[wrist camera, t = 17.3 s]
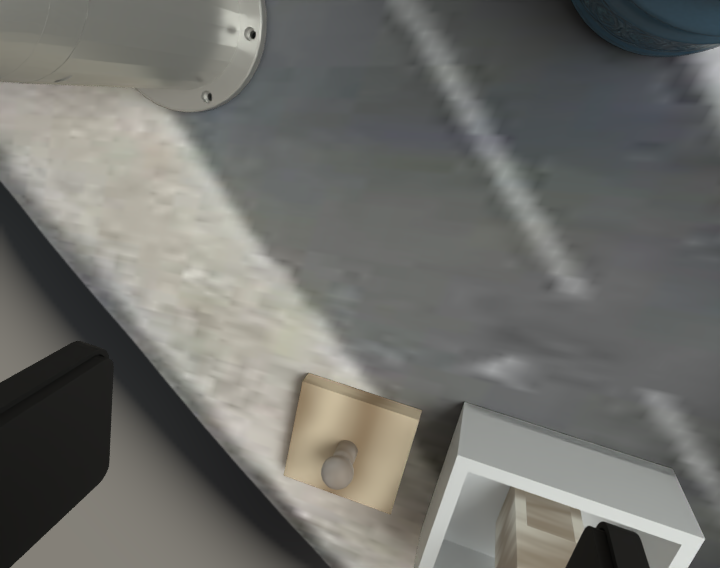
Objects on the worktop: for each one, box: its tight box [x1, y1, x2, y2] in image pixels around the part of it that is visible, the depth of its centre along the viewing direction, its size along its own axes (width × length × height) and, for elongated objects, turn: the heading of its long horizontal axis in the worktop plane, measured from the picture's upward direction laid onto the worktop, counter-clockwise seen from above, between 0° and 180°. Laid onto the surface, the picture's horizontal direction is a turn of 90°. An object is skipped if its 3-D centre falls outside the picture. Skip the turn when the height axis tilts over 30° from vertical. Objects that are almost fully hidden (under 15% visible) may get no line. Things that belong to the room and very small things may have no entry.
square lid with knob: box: [284, 373, 422, 514], centre depth 44 cm, size 10×10×6 cm
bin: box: [414, 402, 705, 568], centre depth 41 cm, size 16×14×7 cm
